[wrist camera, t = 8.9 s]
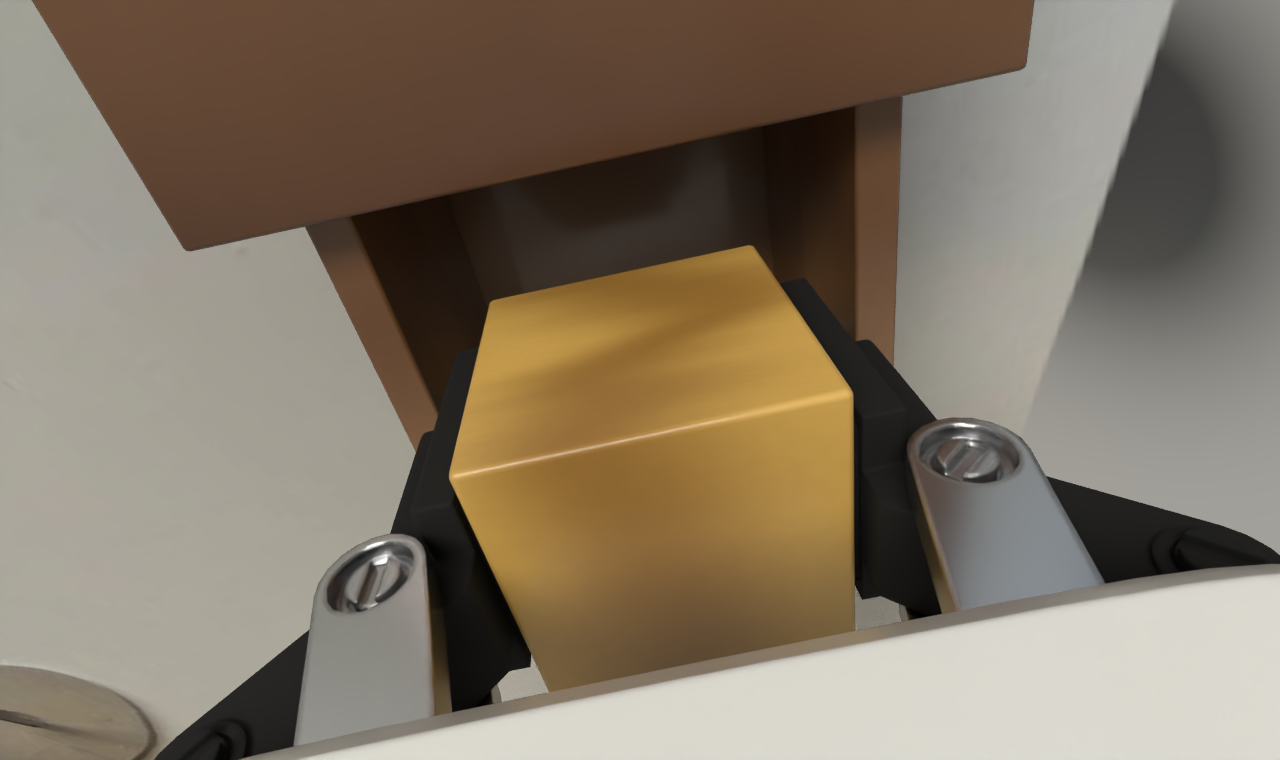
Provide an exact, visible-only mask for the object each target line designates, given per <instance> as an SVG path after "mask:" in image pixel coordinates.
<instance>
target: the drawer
mask: <svg viewBox="0 0 1280 760" xmlns="http://www.w3.org/2000/svg"><path fill="white" fill-rule="evenodd" d="M902 97H903V96H900V97H896V98H891V99H887V100H882V101H877V102H873V103H868V104H864V105H859V106H855V107H850V108H845V109H841V110H836V111H832V112H827V113H823V114H818V115H813V116H809V117H804V118H800V119H795V120H790V121H786V122H781V123H777V124H772V125H768V126H763V127H758V128H754V129H749V130H745V131H740V132H736V133H731V134H726V135H722V136H717V137H713V138H708V139H703V140H699V141H694V142H690V143H685V144H681V145H676V146H671V147H667V148H662V149H658V150H653V151H649V152H644V153H639V154H635V155H630V156H626V157H621V158H616V159H612V160H607V161H603V162H598V163H594V164H589V165H584V166H580V167H575V168H571V169H566V170H562V171H557V172H552V173H548V174H543V175H539V176H534V177H529V178H525V179H520V180H516V181H511V182H507V183H502V184H497V185H493V186H488V187H484V188H479V189H475V190H470V191H465V192H461V193H456V194H452V195H447V196H443V197H438V198H433V199H429V200H424V201H420V202H415V203H410V204H406V205H401V206H397V207H392V208H388V209H383V210H378V211H374V212H369V213H365V214H360V215H356V216H351V217H346V218H342V219H337V220H333V221H328V222H323V223H319V224H314V225H310V226H305V228H306V230H307V232H308V234H309V236H310V238H311V240H312V242H313V244H314V246H315V248H316V250H317V252H318V254H319V256H320V258H321V260H322V262H323V264H324V266H325V268H326V270H327V272H328V274H329V276H330V278H331V280H332V282H333V284H334V287H335V289H336V291H337V293H338V295H339V297H340V299H341V301H342V303H343V305H344V307H345V309H346V311H347V313H348V315H349V317H350V319H351V321H352V323H353V325H354V327H355V329H356V331H357V333H358V335H359V337H360V339H361V341H362V343H363V345H364V347H365V350H366V352H367V354H368V356H369V358H370V360H371V362H372V364H373V366H374V368H375V370H376V372H377V374H378V376H379V378H380V380H381V382H382V384H383V386H384V388H385V390H386V392H387V394H388V396H389V398H390V400H391V402H392V404H393V406H394V408H395V410H396V413H397V415H398V417H399V419H400V421H401V423H402V425H403V427H404V429H405V431H406V433H407V435H408V437H409V439H410V441H411V443H412V445H413V447H414V449H415V451H417V448H418V445H419V442H420V439H421V437H422V435H423V434H424V433H426V432H428V431H433V430H434V427H435V424H436V421H437V417H438V414H439V410H440V407H441V404H442V400H443V397H444V393H445V390H446V387H447V383H448V380H449V377H450V373H451V370H452V366H453V363H454V360H455V356H456V354H457V352H459V351H463V350H468V349H473V348H477V347H479V346H480V342H481V338H482V334H483V330H484V325H485V321H486V317H487V313H488V309H489V305H490V302H492V301H493V300H497V299H501V298H506V297H511V296H515V295H520V294H525V293H529V292H534V291H539V290H543V289H548V288H553V287H557V286H562V285H567V284H571V283H576V282H581V281H585V280H590V279H594V278H599V277H604V276H608V275H613V274H618V273H622V272H627V271H632V270H636V269H641V268H646V267H650V266H655V265H660V264H664V263H669V262H673V261H678V260H683V259H687V258H692V257H697V256H701V255H706V254H711V253H715V252H720V251H725V250H729V249H734V248H739V247H743V246H748V245H751V246H754V248H755V249H756V251H757V252H758V253H759V255H760V256H761V258H762V259H763V261H764V262H765V264H766V265H767V267H768V268H769V270H770V271H771V272H772V274H773V275H774V277H775V278H776V280H777V281H778V283H782V282H786V281H791V280H796V279H800V278H805V279H806V280H807V281H808V282H809V284H810V285H811V286H812V288H813V289H814V290H815V291H816V293H817V294H818V295H819V297H820V298H821V299H822V300H823V302H824V303H825V304H826V306H827V307H828V308H829V309H830V311H831V312H832V313H833V315H834V316H835V317H836V318H837V320H838V321H839V322H840V324H841V325H842V326H843V327H844V329H845V330H846V331H847V333H848V334H849V335H850V336H851V338H852V339H853V340H854V342H855V341H859V340H864V339H868V340H871V341H872V342H873V343H874V344H875V345H876V346H877V348H878V349H879V350H880V351H881V352H882V354H883V355H884V356H885V357H886V359H887V360H888V361H889V362H890V363H891V365H892V366H893V363H894V334H895V304H896V275H897V245H898V216H899V186H900V156H901V127H902Z"/></svg>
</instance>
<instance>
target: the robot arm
mask: <svg viewBox="0 0 1280 760" xmlns="http://www.w3.org/2000/svg"><path fill="white" fill-rule="evenodd" d="M779 284H780V286H781V287H782V289H783V290H784V292H785V293H786V294H787V296H788V297H789V299H790V300H791V302H792V303H793V305H794V306H795V308H796V309H797V311H798V312H799V313H800V315H801V316H802V318H803V319H804V321H805V322H806V324H807V325H808V327H809V328H810V330H811V331H812V333H813V334H814V335H815V337H816V338H817V340H818V341H819V343H820V344H821V346H822V347H823V349H824V350H825V352H826V353H827V354H828V356H829V357H830V359H831V360H832V362H833V363H834V365H835V366H836V368H837V369H838V371H839V372H840V374H841V375H842V376H843V378H844V379H845V381H846V382H847V384H848V385H849V387H850V388H851V390H852V392H853V398H854V555H855V586H856V588H857V590H858V592H859V594H860V596H861V598H862V600H863V599H868V598H873V597H878V596H882V597H885V598H887V599H889V600H891V601H894V602H896V603H898V604H899V613H900V617H901V621H902V622H898V623H893V624H888V625H883V626H878V627H873V628H868V629H863V630H858V631H852V632H847V633H842V634H837V635H832V636H827V637H822V638H817V639H812V640H806V641H801V642H796V643H791V644H786V645H781V646H776V647H771V648H767V649H762V650H757V651H752V652H747V653H742V654H737V655H732V656H727V657H722V658H717V659H712V660H707V661H702V662H697V663H692V664H687V665H682V666H677V667H672V668H667V669H662V670H657V671H652V672H647V673H642V674H637V675H632V676H627V677H622V678H617V679H612V680H607V681H602V682H598V683H593V684H588V685H583V686H578V687H573V688H568V689H563V690H558V691H553V692H549V693H544V694H539V695H534V696H529V697H524V698H520V699H515V700H510V701H505V702H502V701H501V694H500V690H499V688H498V685H497V684H498V683H499V681H500V680H501V679H502V678H503V677H504V676H505V675H506V674H507V673H508V672H509V671H512V670H517V669H522V668H527V667H530V665H531V652H530V650H529V648H528V646H527V644H526V641H525V639H524V637H523V635H522V633H521V631H520V629H519V627H518V624H517V622H516V620H515V618H514V616H513V614H512V612H511V610H510V607H509V605H508V603H507V601H506V599H505V597H504V595H503V593H502V590H501V588H500V586H499V584H498V582H497V580H496V578H495V575H494V573H493V571H492V569H491V567H490V565H489V563H488V561H487V558H486V556H485V554H484V552H483V550H482V548H481V546H480V544H479V541H478V539H477V537H476V535H475V533H474V531H473V529H472V527H471V524H470V522H469V520H468V518H467V516H466V514H465V512H464V509H463V507H462V505H461V503H460V501H459V499H458V497H457V495H456V492H455V490H454V488H453V486H452V484H451V482H450V479H449V472H450V467H451V463H452V459H453V455H454V451H455V447H456V442H457V438H458V434H459V430H460V426H461V422H462V417H463V413H464V409H465V405H466V401H467V396H468V392H469V388H470V384H471V380H472V376H473V371H474V367H475V363H476V359H477V355H478V350H479V347H477V348H473V349H468V350H463V351H459V352H457V354H456V356H455V360H454V363H453V366H452V370H451V373H450V377H449V380H448V383H447V387H446V390H445V393H444V397H443V400H442V404H441V407H440V410H439V414H438V417H437V421H436V424H435V427H434V430H433V431H428V432H426V433H424V434H423V435H422V437H421V439H420V442H419V445H418V448H417V451H416V454H415V457H414V461H413V464H412V467H411V470H410V473H409V476H408V479H407V482H406V486H405V489H404V492H403V495H402V498H401V501H400V504H399V508H398V511H397V514H396V517H395V520H394V523H393V526H392V530H391V533H390V534H387V535H383V536H379V537H375V538H372V539H370V540H367V541H365V542H363V543H361V544H359V545H357V546H355V547H354V548H352V549H351V550H349V551H348V552H346V553H345V554H344V555H342V556H341V557H340V558H339V559H338V560H337V561H336V562H335V563H334V564H333V565H332V566H331V567H330V568H329V569H328V570H327V571H326V573H325V574H324V576H323V577H322V579H321V580H320V582H319V583H318V586H317V589H316V592H315V595H314V601H313V608H312V615H311V622H310V629H309V630H308V631H307V632H306V633H304V634H303V635H302V636H301V637H300V638H298V639H297V640H296V641H295V642H293V643H292V644H291V645H290V646H288V647H287V648H286V649H285V650H283V651H282V652H281V653H280V654H279V655H277V656H276V657H275V658H274V659H272V660H271V661H270V662H269V663H267V664H266V665H265V666H264V667H262V668H261V669H260V670H259V671H258V672H256V673H255V674H254V675H253V676H251V677H250V678H249V679H248V680H246V681H245V682H244V683H243V684H242V685H240V686H239V687H238V688H237V689H235V690H234V691H233V692H232V693H230V694H229V695H228V696H227V697H225V698H224V699H223V700H222V701H221V702H219V703H218V704H217V705H216V706H214V707H213V708H212V709H211V710H209V711H208V712H207V713H206V714H204V715H203V716H202V717H201V718H200V719H198V720H197V721H196V722H195V723H193V724H192V725H191V726H190V727H188V728H187V729H186V730H185V731H183V732H182V733H181V734H180V735H179V736H177V737H176V738H175V739H174V740H173V741H172V742H171V743H170V744H169V745H168V746H167V747H166V748H165V749H163V750H162V751H161V752H160V753H159V754H158V755H157V757H156V758H155V759H154V760H1280V555H1279V554H1277V553H1276V552H1275V551H1274V550H1272V549H1271V548H1269V547H1268V546H1266V545H1264V544H1263V543H1261V542H1259V541H1257V540H1255V539H1253V538H1252V537H1250V536H1248V535H1246V534H1243V533H1240V532H1237V531H1235V530H1232V529H1229V528H1226V527H1224V526H1221V525H1218V524H1214V523H1210V522H1206V521H1203V520H1200V519H1196V518H1192V517H1189V516H1185V515H1182V514H1179V513H1175V512H1171V511H1168V510H1164V509H1160V508H1157V507H1154V506H1150V505H1146V504H1143V503H1139V502H1136V501H1132V500H1129V499H1125V498H1122V497H1118V496H1115V495H1111V494H1107V493H1104V492H1100V491H1097V490H1093V489H1090V488H1086V487H1083V486H1079V485H1076V484H1072V483H1068V482H1064V481H1061V480H1058V479H1054V478H1050V477H1047V476H1045V474H1044V472H1043V471H1042V469H1041V467H1040V465H1039V463H1038V461H1037V460H1036V458H1035V456H1034V454H1033V452H1032V451H1031V449H1030V448H1029V447H1028V445H1027V444H1026V443H1025V442H1024V441H1023V439H1022V438H1021V437H1019V436H1018V435H1016V434H1015V433H1013V432H1012V431H1010V430H1009V429H1007V428H1004V427H1002V426H999V425H997V424H994V423H992V422H988V421H983V420H978V419H973V418H947V419H941V420H937V419H936V418H935V417H934V415H933V414H932V413H931V412H930V411H929V409H928V408H927V407H926V406H925V404H924V403H923V402H922V401H921V400H920V398H919V397H918V396H917V395H916V394H915V392H914V391H913V390H912V389H911V388H910V386H909V385H908V384H907V383H906V381H905V380H904V379H903V378H902V377H901V375H900V374H899V373H898V372H897V371H896V369H895V368H894V367H893V366H892V365H891V363H890V362H889V361H888V360H887V359H886V357H885V356H884V355H883V354H882V352H881V351H880V350H879V349H878V348H877V346H876V345H875V344H874V343H873V342H872V341H871V340H868V339H864V340H859V341H855V342H854V340H853V339H852V338H851V336H850V335H849V334H848V333H847V331H846V330H845V329H844V327H843V326H842V325H841V324H840V322H839V321H838V320H837V318H836V317H835V316H834V315H833V313H832V312H831V311H830V309H829V308H828V307H827V306H826V304H825V303H824V302H823V300H822V299H821V298H820V297H819V295H818V294H817V293H816V291H815V290H814V289H813V288H812V286H811V285H810V284H809V282H808V281H807V280H806V279H805V278H800V279H796V280H791V281H786V282H782V283H779Z"/></svg>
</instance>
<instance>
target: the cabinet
mask: <svg viewBox="0 0 1280 760" xmlns="http://www.w3.org/2000/svg"><path fill="white" fill-rule="evenodd" d="M32 1H33V3H34V5H35V6H36V8H37V10H38V11H39V13H40V15H41V16H42V18H43V19H44V21H45V23H46V24H47V26H48V28H49V29H50V31H51V33H52V34H53V36H54V37H55V39H56V41H57V42H58V44H59V46H60V47H61V49H62V50H63V52H64V54H65V55H66V57H67V59H68V60H69V62H70V64H71V65H72V67H73V68H74V70H75V72H76V73H77V75H78V77H79V78H80V80H81V82H82V83H83V85H84V86H85V88H86V90H87V91H88V93H89V95H90V96H91V98H92V100H93V101H94V103H95V104H96V106H97V108H98V109H99V111H100V113H101V114H102V116H103V118H104V119H105V121H106V122H107V124H108V126H109V127H110V129H111V131H112V132H113V134H114V136H115V137H116V139H117V140H118V142H119V144H120V145H121V147H122V149H123V150H124V152H125V154H126V155H127V157H128V158H129V160H130V162H131V163H132V165H133V167H134V168H135V170H136V172H137V173H138V175H139V176H140V178H141V180H142V181H143V183H144V185H145V186H146V188H147V189H148V191H149V193H150V194H151V196H152V198H153V199H154V201H155V203H156V204H157V206H158V207H159V209H160V211H161V212H162V214H163V216H164V217H165V219H166V221H167V222H168V224H169V225H170V227H171V229H172V230H173V232H174V234H175V235H176V237H177V239H178V240H179V242H180V243H181V245H182V247H183V248H184V249H185V250H186V251H195V250H200V249H204V248H209V247H214V246H218V245H223V244H227V243H232V242H236V241H241V240H246V239H250V238H255V237H259V236H264V235H269V234H273V233H278V232H282V231H287V230H291V229H296V228H301V227H305V226H310V225H314V224H319V223H323V222H328V221H333V220H337V219H342V218H346V217H351V216H356V215H360V214H365V213H369V212H374V211H378V210H383V209H388V208H392V207H397V206H401V205H406V204H410V203H415V202H420V201H424V200H429V199H433V198H438V197H443V196H447V195H452V194H456V193H461V192H465V191H470V190H475V189H479V188H484V187H488V186H493V185H497V184H502V183H507V182H511V181H516V180H520V179H525V178H529V177H534V176H539V175H543V174H548V173H552V172H557V171H562V170H566V169H571V168H575V167H580V166H584V165H589V164H594V163H598V162H603V161H607V160H612V159H616V158H621V157H626V156H630V155H635V154H639V153H644V152H649V151H653V150H658V149H662V148H667V147H671V146H676V145H681V144H685V143H690V142H694V141H699V140H703V139H708V138H713V137H717V136H722V135H726V134H731V133H736V132H740V131H745V130H749V129H754V128H758V127H763V126H768V125H772V124H777V123H781V122H786V121H790V120H795V119H800V118H804V117H809V116H813V115H818V114H823V113H827V112H832V111H836V110H841V109H845V108H850V107H855V106H859V105H864V104H868V103H873V102H877V101H882V100H887V99H891V98H896V97H900V96H905V95H910V94H914V93H919V92H923V91H928V90H932V89H937V88H942V87H946V86H951V85H955V84H960V83H964V82H969V81H974V80H978V79H983V78H987V77H992V76H997V75H1001V74H1006V73H1010V72H1015V71H1019V70H1021V69H1023V68H1025V66H1026V62H1027V54H1028V47H1029V39H1030V31H1031V23H1032V16H1033V8H1034V0H32Z"/></svg>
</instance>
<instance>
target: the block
mask: <svg viewBox="0 0 1280 760" xmlns="http://www.w3.org/2000/svg"><path fill="white" fill-rule="evenodd" d="M449 479H450V482H451V484H452V486H453V488H454V490H455V492H456V495H457V497H458V499H459V501H460V503H461V505H462V507H463V509H464V512H465V514H466V516H467V518H468V520H469V522H470V524H471V527H472V529H473V531H474V533H475V535H476V537H477V539H478V541H479V544H480V546H481V548H482V550H483V552H484V554H485V556H486V558H487V561H488V563H489V565H490V567H491V569H492V571H493V573H494V575H495V578H496V580H497V582H498V584H499V586H500V588H501V590H502V593H503V595H504V597H505V599H506V601H507V603H508V605H509V607H510V610H511V612H512V614H513V616H514V618H515V620H516V622H517V624H518V627H519V629H520V631H521V633H522V635H523V637H524V639H525V641H526V644H527V646H528V648H529V650H530V652H531V654H532V656H533V659H534V661H535V663H536V665H537V667H538V669H539V671H540V673H541V676H542V678H543V680H544V682H545V684H546V686H547V688H548V690H549V692H553V691H558V690H563V689H568V688H573V687H578V686H583V685H588V684H593V683H598V682H602V681H607V680H612V679H617V678H622V677H627V676H632V675H637V674H642V673H647V672H652V671H657V670H662V669H667V668H672V667H677V666H682V665H687V664H692V663H697V662H702V661H707V660H712V659H717V658H722V657H727V656H732V655H737V654H742V653H747V652H752V651H757V650H762V649H767V648H771V647H776V646H781V645H786V644H791V643H796V642H801V641H806V640H812V639H817V638H822V637H827V636H832V635H837V634H842V633H847V632H852V631H855V555H854V398H853V392H852V390H851V388H850V387H849V385H848V384H847V382H846V381H845V379H844V378H843V376H842V375H841V374H840V372H839V371H838V369H837V368H836V366H835V365H834V363H833V362H832V360H831V359H830V357H829V356H828V354H827V353H826V352H825V350H824V349H823V347H822V346H821V344H820V343H819V341H818V340H817V338H816V337H815V335H814V334H813V333H812V331H811V330H810V328H809V327H808V325H807V324H806V322H805V321H804V319H803V318H802V316H801V315H800V313H799V312H798V311H797V309H796V308H795V306H794V305H793V303H792V302H791V300H790V299H789V297H788V296H787V294H786V293H785V292H784V290H783V289H782V287H781V286H780V284H779V283H778V281H777V280H776V278H775V277H774V275H773V274H772V272H771V271H770V270H769V268H768V267H767V265H766V264H765V262H764V261H763V259H762V258H761V256H760V255H759V253H758V252H757V251H756V249H755V248H754V246H751V245H748V246H743V247H739V248H734V249H729V250H725V251H720V252H715V253H711V254H706V255H701V256H697V257H692V258H687V259H683V260H678V261H673V262H669V263H664V264H660V265H655V266H650V267H646V268H641V269H636V270H632V271H627V272H622V273H618V274H613V275H608V276H604V277H599V278H594V279H590V280H585V281H581V282H576V283H571V284H567V285H562V286H557V287H553V288H548V289H543V290H539V291H534V292H529V293H525V294H520V295H515V296H511V297H506V298H501V299H497V300H493V301H492V302H490V305H489V309H488V313H487V317H486V321H485V325H484V330H483V334H482V338H481V342H480V346H479V350H478V355H477V359H476V363H475V367H474V371H473V376H472V380H471V384H470V388H469V392H468V396H467V401H466V405H465V409H464V413H463V417H462V422H461V426H460V430H459V434H458V438H457V442H456V447H455V451H454V455H453V459H452V463H451V467H450V472H449Z"/></svg>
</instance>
